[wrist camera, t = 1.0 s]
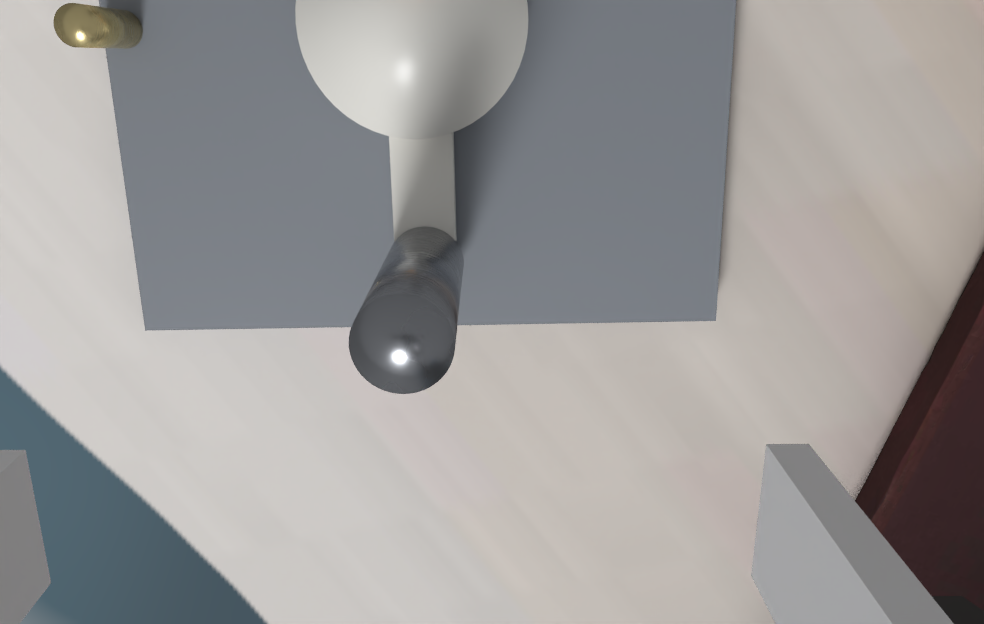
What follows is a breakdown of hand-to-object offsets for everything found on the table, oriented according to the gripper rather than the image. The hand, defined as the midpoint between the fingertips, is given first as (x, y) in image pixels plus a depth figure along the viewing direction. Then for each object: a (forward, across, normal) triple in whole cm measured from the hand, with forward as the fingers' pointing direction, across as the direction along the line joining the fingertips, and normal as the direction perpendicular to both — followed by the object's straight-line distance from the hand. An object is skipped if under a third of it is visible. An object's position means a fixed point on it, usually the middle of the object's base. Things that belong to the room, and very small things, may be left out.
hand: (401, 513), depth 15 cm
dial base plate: (+22, +1, -8) cm, 24 cm away
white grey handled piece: (+21, +1, -8) cm, 22 cm away
